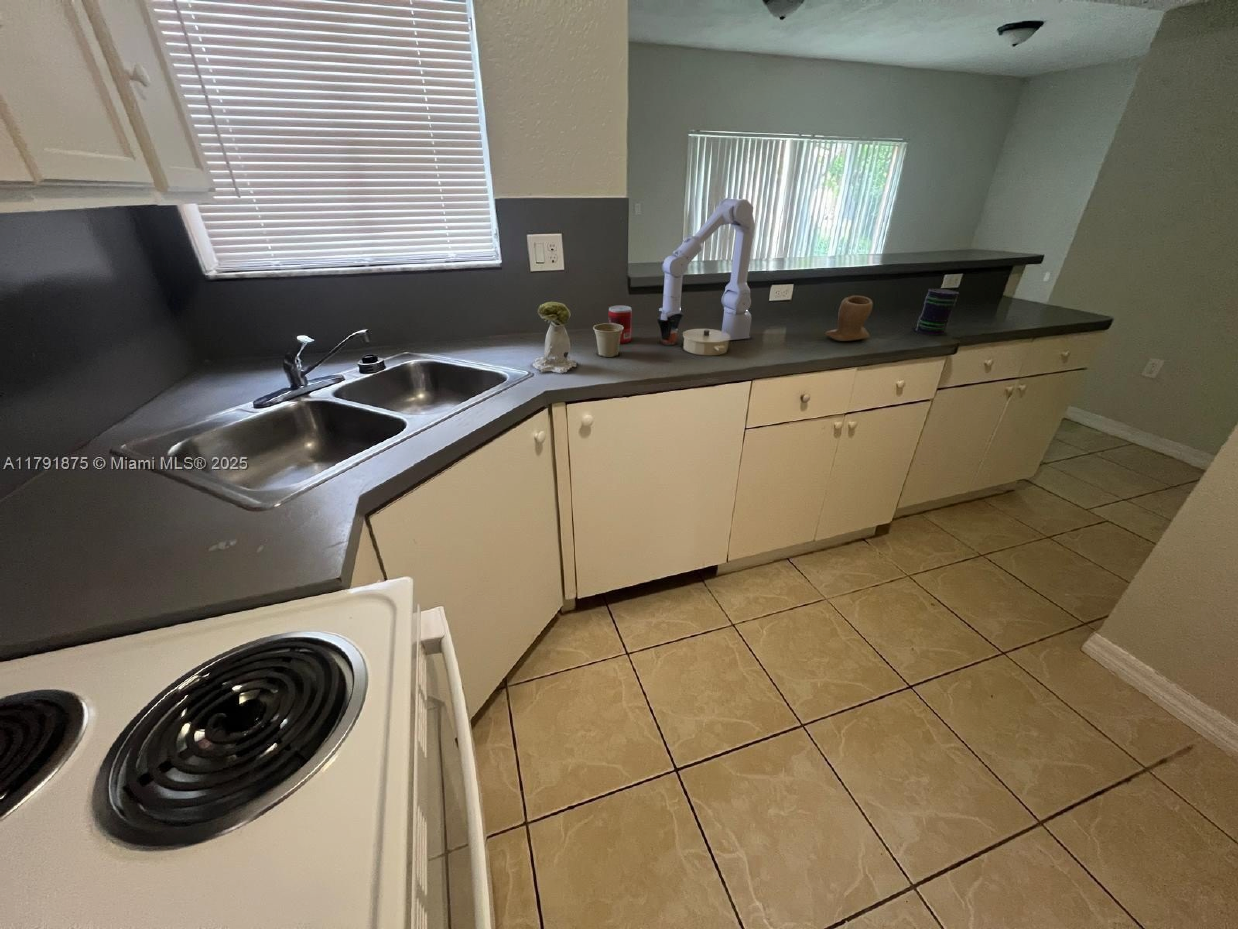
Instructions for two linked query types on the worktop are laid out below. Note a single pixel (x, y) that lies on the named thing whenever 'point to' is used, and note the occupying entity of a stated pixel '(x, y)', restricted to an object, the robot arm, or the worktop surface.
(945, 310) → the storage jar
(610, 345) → the flower pot
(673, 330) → the tin can
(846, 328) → the brown clay vase
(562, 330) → the mossy mushroom figurine
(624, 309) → the canned food
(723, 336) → the pot lid
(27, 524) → the worktop surface
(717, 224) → the robot arm
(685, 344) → the pot
